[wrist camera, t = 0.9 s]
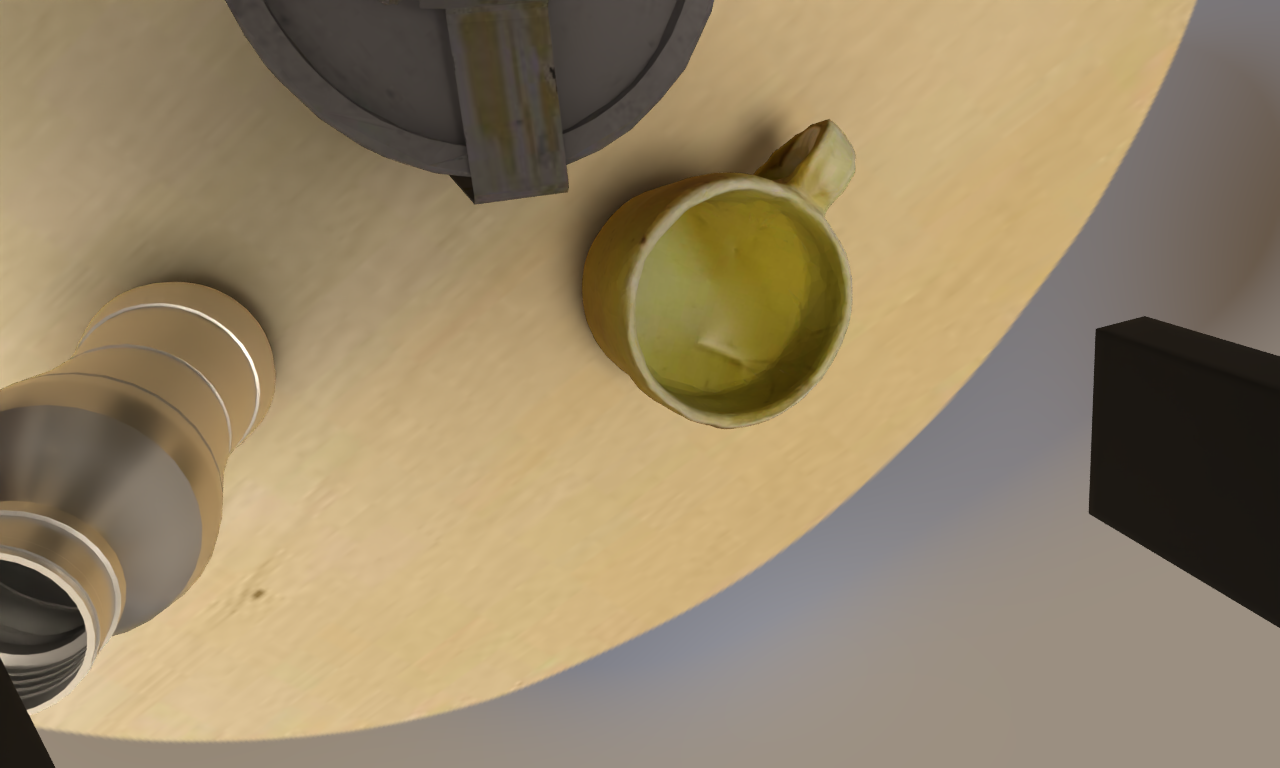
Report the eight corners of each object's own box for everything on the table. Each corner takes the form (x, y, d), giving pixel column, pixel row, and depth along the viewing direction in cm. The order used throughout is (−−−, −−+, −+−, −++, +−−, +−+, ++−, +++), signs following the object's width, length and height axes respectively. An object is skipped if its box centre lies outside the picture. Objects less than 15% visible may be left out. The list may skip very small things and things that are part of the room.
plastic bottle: (152, 456, 35) (-90, 843, 17) (64, 301, 33) (-330, 558, 14) (309, 399, 36) (241, 705, 18) (236, 244, 34) (71, 417, 16)
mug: (684, 470, 40) (755, 480, 30) (521, 310, 39) (541, 267, 29) (855, 284, 42) (973, 237, 32) (705, 128, 41) (781, 31, 31)
